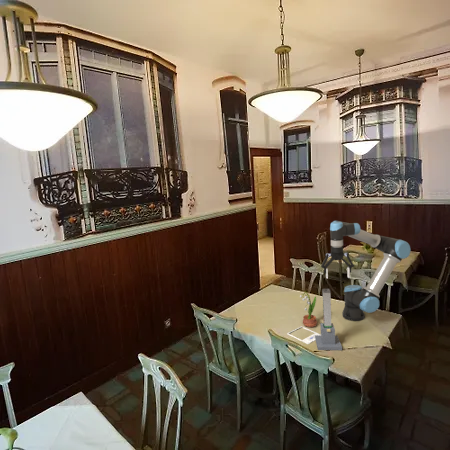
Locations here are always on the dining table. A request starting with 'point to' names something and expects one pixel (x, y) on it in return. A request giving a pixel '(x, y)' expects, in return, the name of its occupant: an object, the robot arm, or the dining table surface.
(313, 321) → the potted flower
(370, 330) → the dining table surface
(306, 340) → the photo frame
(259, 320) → the dining table surface
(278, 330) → the dining table surface
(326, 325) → the post
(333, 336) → the jack stand
